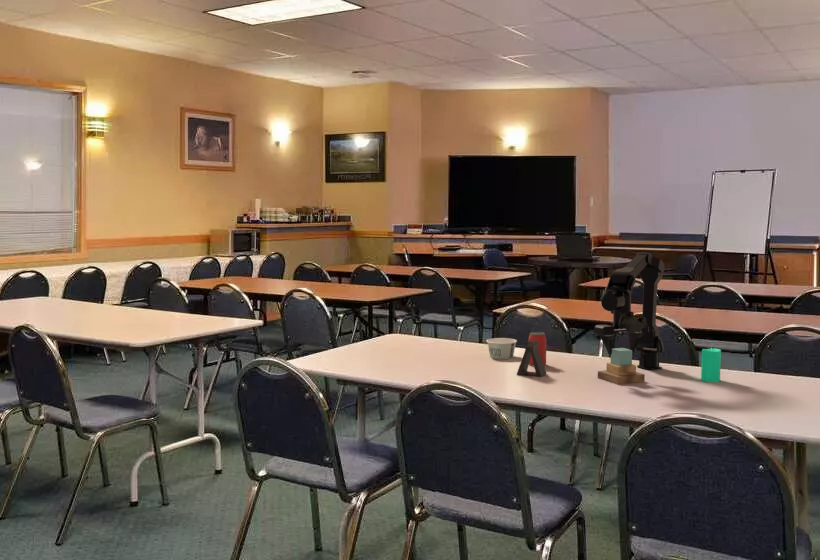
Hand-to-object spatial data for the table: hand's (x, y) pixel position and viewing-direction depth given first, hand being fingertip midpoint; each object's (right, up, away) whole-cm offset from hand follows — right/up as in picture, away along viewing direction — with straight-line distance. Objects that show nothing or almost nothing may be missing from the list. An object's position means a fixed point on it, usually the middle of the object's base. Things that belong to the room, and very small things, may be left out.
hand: (621, 353), depth 267 cm
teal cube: (0, -4, 0) cm, 4 cm away
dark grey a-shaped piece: (-29, -9, +10) cm, 32 cm away
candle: (+30, -9, -1) cm, 31 cm away
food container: (-36, -6, +44) cm, 57 cm away
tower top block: (0, -7, +1) cm, 7 cm away
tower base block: (0, -10, +1) cm, 10 cm away
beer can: (-24, -7, +28) cm, 37 cm away
